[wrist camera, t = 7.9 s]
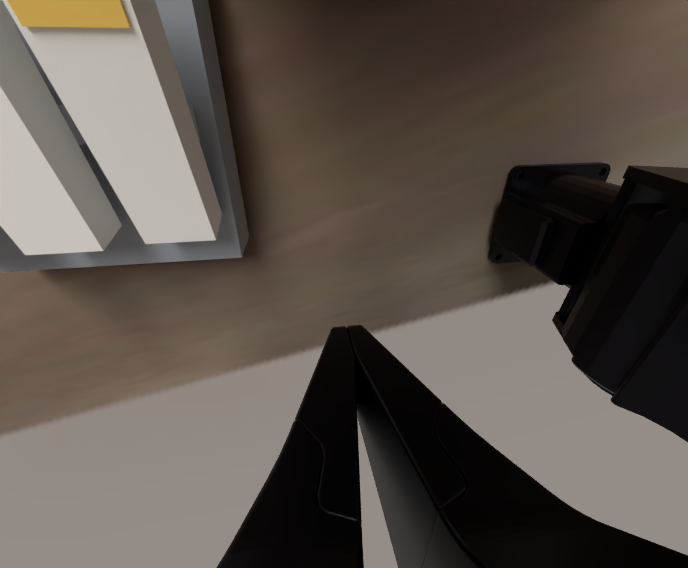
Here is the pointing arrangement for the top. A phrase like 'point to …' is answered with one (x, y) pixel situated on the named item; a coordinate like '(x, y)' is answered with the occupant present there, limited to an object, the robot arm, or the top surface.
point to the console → (215, 139)
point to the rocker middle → (44, 164)
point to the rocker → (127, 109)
